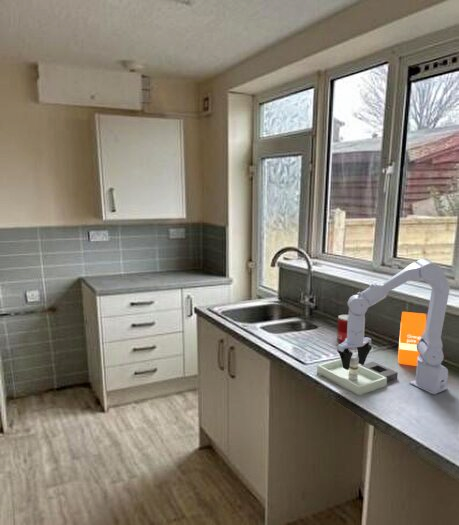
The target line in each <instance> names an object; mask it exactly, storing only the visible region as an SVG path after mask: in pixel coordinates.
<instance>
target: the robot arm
mask: <svg viewBox="0 0 459 525" xmlns="http://www.w3.org/2000/svg"><path fill="white" fill-rule="evenodd" d="M421 278H422V280H423V281H425V282H426V283H427V284H428V285H429V286H430V287H431V292H430V298H429V304H428V310H427V313H426V326H425V331H424V333H423V334H422V335H421V339H420V341H419V342H418V343H417V351H418V352H419V356H418V358H417V366H416V371H415V379H414V380H411V381H410V382H409V385H410V384H411V385H412V386H415V387H416V388H419V389H421V390H423V391H426V392H428V393H430V394H432V395H437V394H439V393H442V392H444V391H446V390H448V389H449V387H448V378H449V370H448V368H447V367H445V366H444V365H442V362H443V360H444V357H445V356H444V351H443V346H444V345H443V341H442V331H443V327H444V322H445V317H446V310H447V305H448V302H449V301H448V300H449V299H448V298H449V295H450V289H451V285H450V282H449V280H448V278H447V276H446V274H445V270H444V269H443V268H442V267H441V266H440V265H438V264H437V263H434V262H432V261H431V260H429V259H428V258H420V259H418V260H416V262H415V261H414V262H411V263H410V264H409V265H407V266H406V267H405V268H403V269H401V271H399V272H396V274H395V275H393V276H392V277H390V278H388V279H387V280H386V281H384V282H383V283H378V282H376V283H370V284H369V285H368V286H369V287H367V288H366V289H364V290H362V291H361V292H360V291H358V292H357V293H356V294H353V295H351V296H350V297H349V298H348V300H347V302H346V304H347V307H348V314H347V315H348V324H347V338H346V339H345V341H344V342H343V343H341V342H340V344H338V345H337V350H336V351H337V353H338V355H339V357H340V359H341V360H342V365H343V368H344V369H346V370H349V366H350V360H351V357H352V356H354V355H353V354H354V353H353V352H351V351H350V349H354V348H356V350H357V356H358V357H359V365H364V364H366V363H365V362H366V361H367V360H366V359H367V357H368V355H369V353H370V352H371V350H372V349H373V348H372V345H371V344H372V338H370V337H368V336H366V337H365V328H366V327H365V323H366V317H365V316H366V313H367V311H368V309H369V308H371V307H372V306H374V305H375V304H378V303H379V302H381V301H382V300H384V299H386V298H387V296H388V293H389V292H390V291H392V290H394V289H396V288H398V287H400V286H402V285H403V284H405V283H407V282H410V281H412V282H421Z"/></svg>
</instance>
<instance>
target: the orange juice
mask: <svg viewBox="0 0 459 525" xmlns="http://www.w3.org/2000/svg"><path fill="white" fill-rule="evenodd" d="M426 320H427V313H421V312H411V311H409V312H408V311H402V312H401V320H400V325H399V326H400V327H399V328H400V329H399V340H398V351H397V361H398V364H400V365H406V366H407V365H408V366H415V367H417V358H418V356H419V352H418V351H417V343H418V342H419V341H420V339H421V335H422V334H423V333H424V331H425V326H426Z"/></svg>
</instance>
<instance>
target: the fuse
mask: <svg viewBox="0 0 459 525" xmlns="http://www.w3.org/2000/svg"><path fill="white" fill-rule="evenodd" d="M358 364H359V357H358V355H352V357H351V360H350V366H349V368H350V369H349V376H348V378H349V379H350V380H353V381H355V380H358ZM359 365H360V364H359Z"/></svg>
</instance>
